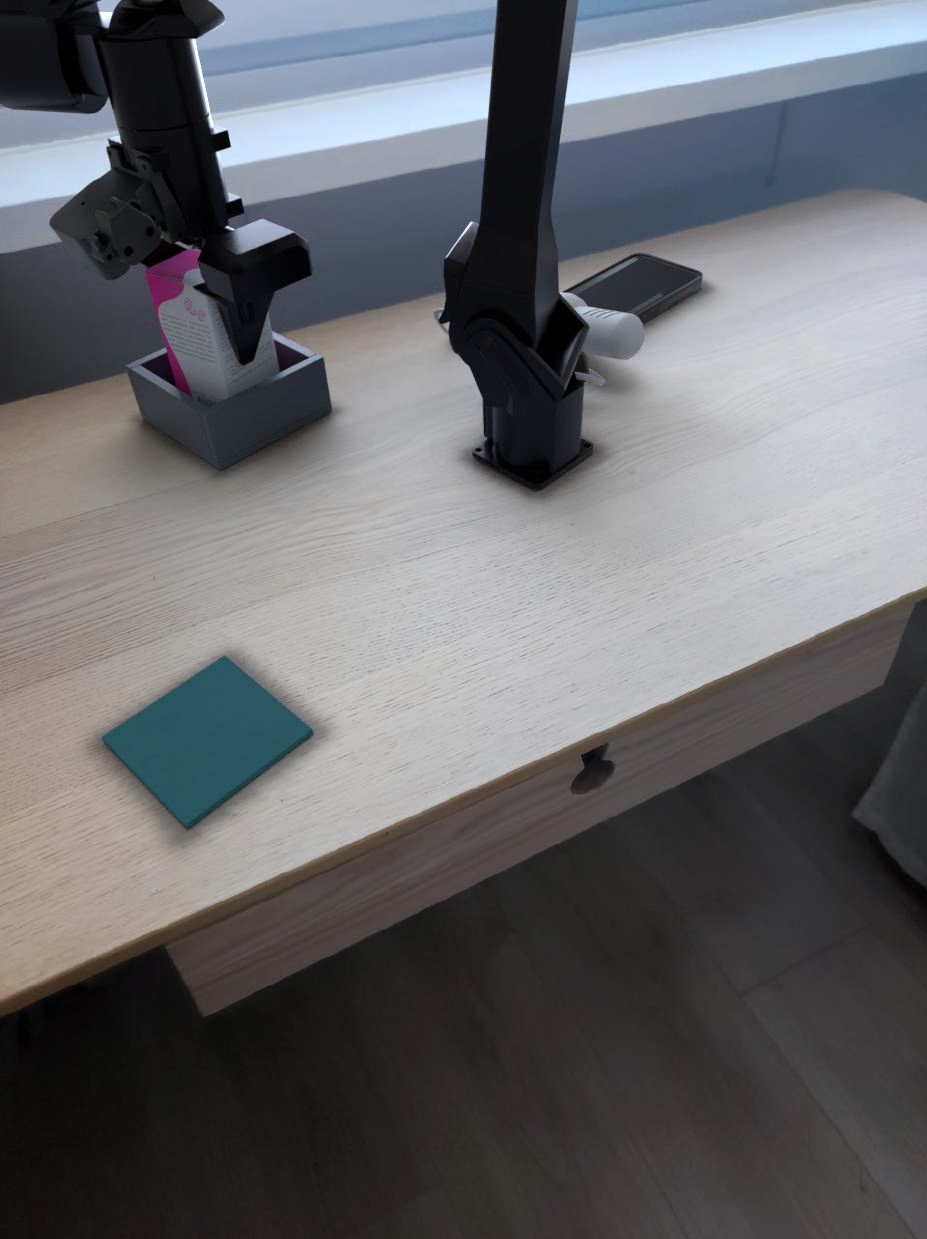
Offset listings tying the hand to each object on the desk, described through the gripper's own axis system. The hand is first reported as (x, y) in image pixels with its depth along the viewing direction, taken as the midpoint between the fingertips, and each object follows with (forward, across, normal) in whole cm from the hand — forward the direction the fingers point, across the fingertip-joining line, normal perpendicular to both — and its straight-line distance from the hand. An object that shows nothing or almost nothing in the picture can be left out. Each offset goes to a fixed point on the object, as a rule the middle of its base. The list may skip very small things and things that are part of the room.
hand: (220, 348), depth 67 cm
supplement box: (+5, 0, 0) cm, 5 cm away
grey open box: (+6, 0, 0) cm, 6 cm away
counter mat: (+6, +25, -20) cm, 33 cm away
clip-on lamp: (+6, +12, +20) cm, 24 cm away
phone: (+6, +12, +34) cm, 36 cm away
